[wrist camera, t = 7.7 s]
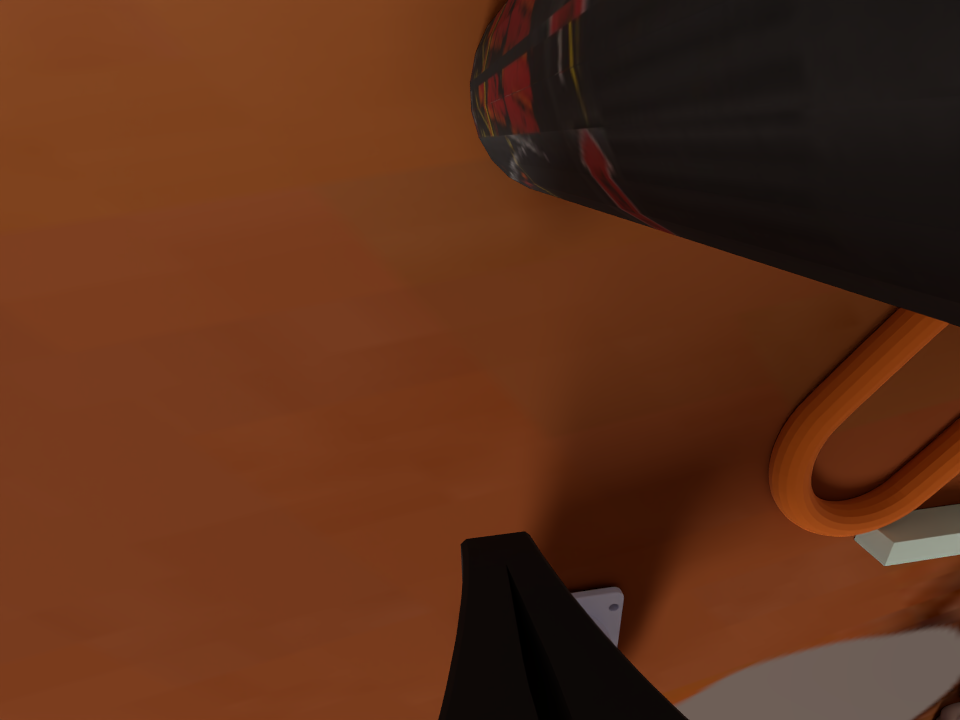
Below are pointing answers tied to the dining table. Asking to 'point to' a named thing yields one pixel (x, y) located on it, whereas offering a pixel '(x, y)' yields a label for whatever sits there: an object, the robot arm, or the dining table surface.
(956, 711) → the coil
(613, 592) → the robot arm
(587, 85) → the deodorant
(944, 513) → the bar pull handle
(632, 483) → the dining table surface
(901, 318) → the orange oval ring
